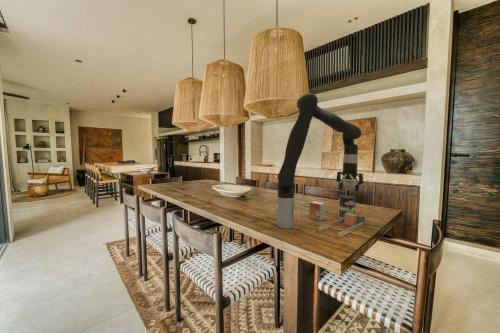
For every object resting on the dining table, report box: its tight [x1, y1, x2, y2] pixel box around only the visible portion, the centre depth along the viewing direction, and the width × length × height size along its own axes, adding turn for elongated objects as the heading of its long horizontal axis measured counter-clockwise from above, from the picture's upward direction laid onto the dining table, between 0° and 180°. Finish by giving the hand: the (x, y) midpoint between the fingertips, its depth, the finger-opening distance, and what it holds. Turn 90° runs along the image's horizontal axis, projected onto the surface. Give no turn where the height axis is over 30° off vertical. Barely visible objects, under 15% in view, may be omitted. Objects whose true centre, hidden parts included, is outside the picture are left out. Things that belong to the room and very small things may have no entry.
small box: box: [308, 200, 326, 221], centre depth 136 cm, size 8×6×10 cm
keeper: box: [344, 213, 357, 227], centre depth 125 cm, size 5×5×6 cm
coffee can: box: [337, 194, 357, 219], centre depth 138 cm, size 10×10×14 cm
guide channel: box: [317, 213, 366, 239], centre depth 119 cm, size 12×30×5 cm, turn 129°
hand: (348, 190), depth 122 cm, fingers open, 8 cm apart
